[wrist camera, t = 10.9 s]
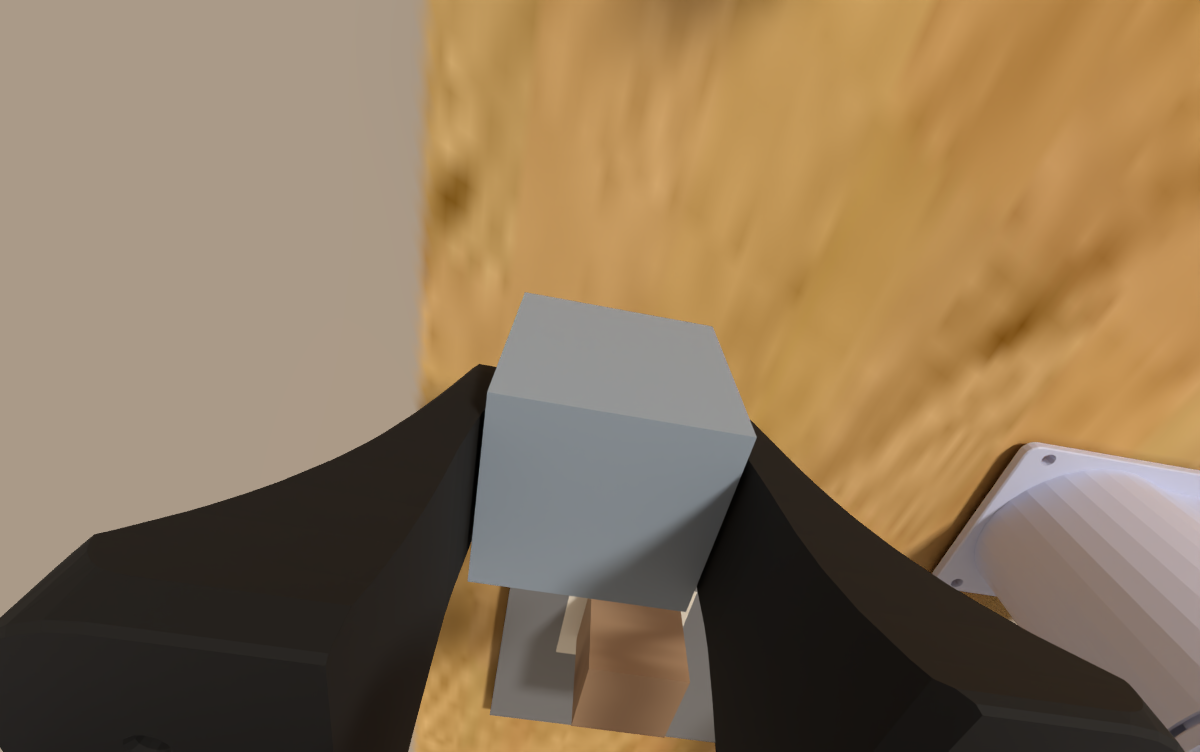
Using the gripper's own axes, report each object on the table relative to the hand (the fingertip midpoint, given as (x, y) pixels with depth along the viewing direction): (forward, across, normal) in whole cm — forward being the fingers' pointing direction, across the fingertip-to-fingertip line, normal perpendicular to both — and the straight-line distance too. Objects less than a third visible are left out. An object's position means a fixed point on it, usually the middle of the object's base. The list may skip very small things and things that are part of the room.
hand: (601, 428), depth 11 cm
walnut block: (+8, -4, +16) cm, 18 cm away
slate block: (+2, 0, 0) cm, 2 cm away
